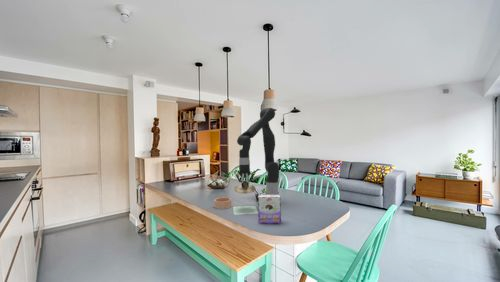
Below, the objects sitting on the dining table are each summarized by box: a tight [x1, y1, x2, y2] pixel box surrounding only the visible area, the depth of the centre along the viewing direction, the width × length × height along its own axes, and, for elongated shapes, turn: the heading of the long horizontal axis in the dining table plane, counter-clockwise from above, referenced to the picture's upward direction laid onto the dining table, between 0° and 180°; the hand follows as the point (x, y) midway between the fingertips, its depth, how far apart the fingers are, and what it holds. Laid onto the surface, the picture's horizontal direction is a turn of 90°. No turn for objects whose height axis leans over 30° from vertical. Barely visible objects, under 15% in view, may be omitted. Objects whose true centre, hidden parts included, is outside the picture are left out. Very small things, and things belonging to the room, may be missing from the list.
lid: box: [234, 180, 256, 194], centre depth 154 cm, size 15×15×6 cm
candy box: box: [257, 194, 282, 224], centre depth 133 cm, size 14×6×16 cm, turn 84°
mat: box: [232, 205, 258, 216], centre depth 154 cm, size 17×17×1 cm
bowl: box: [213, 196, 232, 210], centre depth 163 cm, size 13×13×6 cm
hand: (245, 187), depth 154 cm, fingers closed on lid, 2 cm apart
